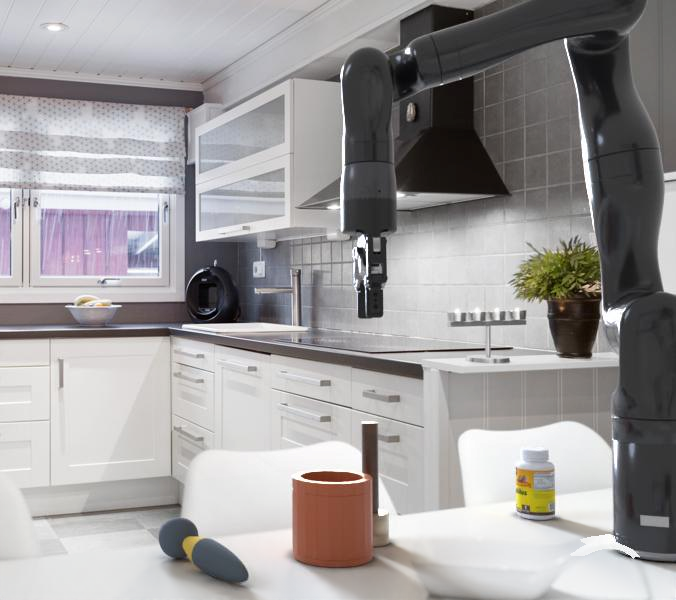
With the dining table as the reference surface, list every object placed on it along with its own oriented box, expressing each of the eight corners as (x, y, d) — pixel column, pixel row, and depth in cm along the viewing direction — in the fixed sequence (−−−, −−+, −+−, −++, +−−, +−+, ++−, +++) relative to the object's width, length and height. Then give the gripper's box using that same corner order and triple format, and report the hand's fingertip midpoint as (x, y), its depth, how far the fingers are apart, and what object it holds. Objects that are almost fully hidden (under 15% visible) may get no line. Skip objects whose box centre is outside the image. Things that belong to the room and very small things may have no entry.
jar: (366, 545, 109) (365, 469, 110) (378, 567, 99) (377, 483, 100) (290, 545, 110) (290, 469, 110) (295, 567, 100) (294, 483, 100)
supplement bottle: (511, 512, 128) (510, 446, 129) (548, 512, 128) (546, 446, 129) (522, 520, 123) (521, 451, 123) (560, 521, 123) (559, 451, 123)
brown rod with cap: (385, 537, 114) (384, 420, 114) (391, 546, 109) (390, 424, 109) (350, 537, 114) (349, 420, 114) (355, 546, 109) (354, 424, 109)
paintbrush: (272, 582, 94) (272, 538, 94) (238, 591, 90) (237, 545, 91) (174, 546, 109) (174, 508, 109) (142, 553, 106) (141, 514, 106)
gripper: (406, 190, 106) (407, 317, 105) (387, 206, 120) (388, 318, 119) (347, 191, 106) (348, 317, 105) (335, 207, 120) (336, 318, 119)
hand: (369, 318), depth 112 cm, fingers open, 8 cm apart
